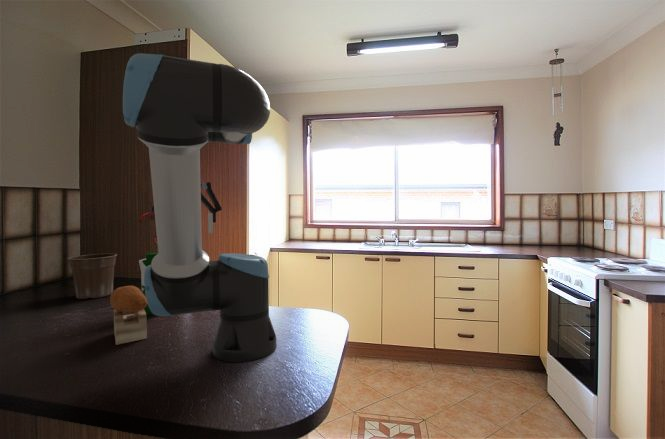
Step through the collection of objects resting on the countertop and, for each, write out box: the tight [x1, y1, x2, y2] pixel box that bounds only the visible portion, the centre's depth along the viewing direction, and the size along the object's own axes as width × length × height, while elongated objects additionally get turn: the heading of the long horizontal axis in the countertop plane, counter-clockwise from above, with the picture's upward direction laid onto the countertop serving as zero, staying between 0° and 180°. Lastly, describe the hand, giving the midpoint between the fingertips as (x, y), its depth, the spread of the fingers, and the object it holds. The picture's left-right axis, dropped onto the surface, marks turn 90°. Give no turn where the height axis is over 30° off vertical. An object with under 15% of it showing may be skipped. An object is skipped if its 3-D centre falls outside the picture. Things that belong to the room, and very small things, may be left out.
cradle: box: [113, 309, 148, 346], centre depth 90 cm, size 10×7×6 cm
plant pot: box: [67, 253, 118, 300], centre depth 134 cm, size 16×16×16 cm
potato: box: [109, 285, 148, 314], centre depth 90 cm, size 7×13×7 cm, turn 50°
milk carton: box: [138, 252, 158, 315], centre depth 112 cm, size 9×9×20 cm
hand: (188, 234), depth 103 cm, fingers open, 13 cm apart
